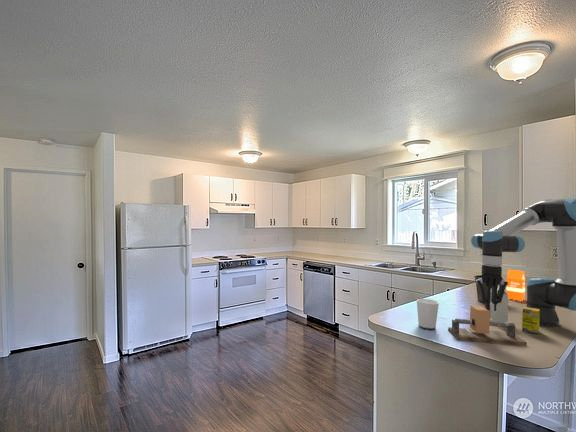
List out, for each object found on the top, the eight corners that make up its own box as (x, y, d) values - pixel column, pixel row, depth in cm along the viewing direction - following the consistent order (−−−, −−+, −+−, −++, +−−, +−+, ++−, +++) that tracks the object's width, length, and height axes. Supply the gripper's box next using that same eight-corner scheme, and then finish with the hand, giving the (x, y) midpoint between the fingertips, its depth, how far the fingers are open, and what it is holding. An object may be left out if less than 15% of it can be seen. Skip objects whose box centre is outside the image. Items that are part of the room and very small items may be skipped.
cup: (425, 331, 143) (426, 304, 143) (411, 324, 152) (412, 299, 153) (443, 330, 146) (443, 303, 146) (428, 323, 155) (428, 298, 155)
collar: (481, 328, 141) (482, 306, 141) (489, 333, 134) (489, 310, 135) (470, 327, 142) (470, 305, 142) (476, 332, 135) (477, 310, 135)
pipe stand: (510, 335, 142) (510, 318, 142) (526, 345, 130) (526, 327, 130) (448, 330, 146) (448, 314, 146) (458, 340, 134) (458, 322, 134)
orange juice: (509, 297, 217) (510, 269, 218) (525, 300, 211) (525, 270, 211) (506, 298, 212) (506, 269, 213) (521, 301, 206) (522, 271, 206)
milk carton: (502, 319, 165) (503, 284, 165) (507, 323, 158) (508, 286, 159) (487, 318, 167) (488, 283, 167) (492, 322, 160) (492, 285, 160)
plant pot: (475, 303, 199) (476, 278, 199) (471, 297, 214) (472, 274, 214) (505, 306, 192) (506, 280, 193) (499, 300, 207) (500, 276, 207)
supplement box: (521, 331, 148) (522, 308, 148) (524, 328, 152) (524, 306, 152) (537, 334, 143) (538, 311, 144) (539, 331, 148) (539, 309, 148)
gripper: (502, 264, 141) (501, 316, 140) (472, 263, 143) (471, 314, 142) (512, 267, 133) (511, 321, 133) (480, 265, 135) (478, 319, 135)
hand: (490, 317), depth 138 cm, fingers closed
